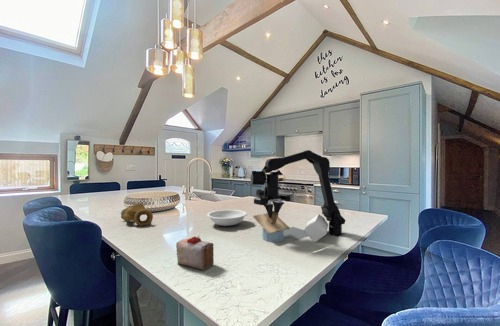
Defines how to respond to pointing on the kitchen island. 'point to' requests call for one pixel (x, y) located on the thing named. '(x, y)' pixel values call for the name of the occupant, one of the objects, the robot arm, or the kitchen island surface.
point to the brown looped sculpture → (137, 214)
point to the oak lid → (271, 222)
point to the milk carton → (316, 228)
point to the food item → (195, 253)
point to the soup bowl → (227, 217)
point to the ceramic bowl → (272, 236)
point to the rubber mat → (295, 233)
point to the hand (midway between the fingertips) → (272, 217)
